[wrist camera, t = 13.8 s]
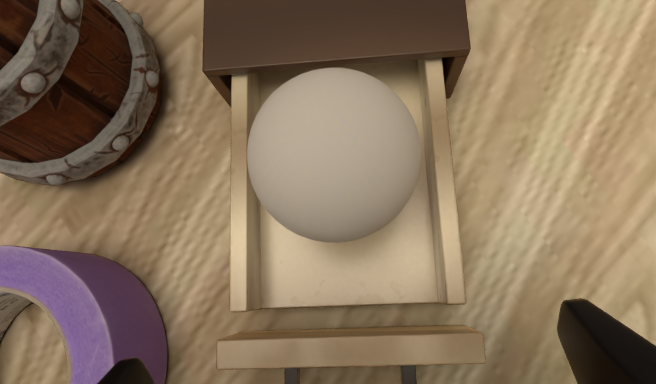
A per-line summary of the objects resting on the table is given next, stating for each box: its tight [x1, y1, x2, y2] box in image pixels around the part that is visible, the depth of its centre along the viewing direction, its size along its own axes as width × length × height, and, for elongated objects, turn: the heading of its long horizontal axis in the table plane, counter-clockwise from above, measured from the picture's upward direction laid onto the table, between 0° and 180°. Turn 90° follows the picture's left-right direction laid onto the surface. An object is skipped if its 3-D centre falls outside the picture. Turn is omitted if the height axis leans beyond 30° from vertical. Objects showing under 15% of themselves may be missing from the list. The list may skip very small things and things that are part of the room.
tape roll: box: [0, 245, 167, 384], centre depth 21 cm, size 12×12×5 cm
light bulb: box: [247, 68, 421, 243], centre depth 17 cm, size 6×6×10 cm
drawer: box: [216, 58, 486, 384], centre depth 21 cm, size 20×11×4 cm, turn 2°
